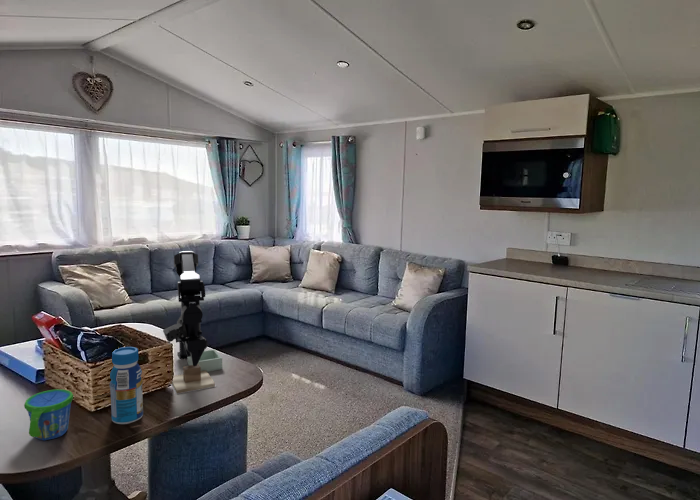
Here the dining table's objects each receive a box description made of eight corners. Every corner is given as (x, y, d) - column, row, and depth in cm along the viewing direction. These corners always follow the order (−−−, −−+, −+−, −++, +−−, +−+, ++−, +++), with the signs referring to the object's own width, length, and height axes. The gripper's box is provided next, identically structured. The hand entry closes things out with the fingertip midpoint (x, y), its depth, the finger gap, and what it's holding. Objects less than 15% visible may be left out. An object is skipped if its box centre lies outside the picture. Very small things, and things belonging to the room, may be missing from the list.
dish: (187, 365, 173) (187, 353, 173) (215, 360, 178) (214, 349, 178) (193, 375, 165) (193, 362, 164) (222, 370, 170) (222, 358, 169)
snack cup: (52, 451, 117) (50, 412, 116) (10, 449, 118) (7, 411, 116) (87, 419, 133) (86, 385, 131) (50, 418, 133) (48, 384, 132)
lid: (170, 379, 160) (169, 363, 159) (206, 372, 166) (205, 357, 165) (176, 393, 150) (176, 376, 149) (215, 386, 156) (214, 370, 155)
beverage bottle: (104, 420, 133) (101, 352, 130) (130, 408, 140) (128, 343, 137) (124, 428, 129) (121, 358, 126) (150, 415, 136) (148, 348, 133)
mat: (168, 380, 160) (168, 378, 160) (207, 373, 167) (207, 372, 167) (175, 395, 149) (175, 394, 149) (216, 387, 156) (216, 386, 156)
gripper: (159, 311, 158) (161, 355, 161) (170, 326, 143) (171, 376, 145) (194, 307, 164) (194, 350, 166) (207, 322, 148) (208, 369, 151)
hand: (191, 361), depth 157 cm, fingers open, 9 cm apart
